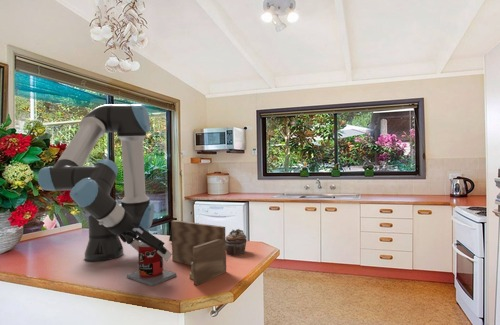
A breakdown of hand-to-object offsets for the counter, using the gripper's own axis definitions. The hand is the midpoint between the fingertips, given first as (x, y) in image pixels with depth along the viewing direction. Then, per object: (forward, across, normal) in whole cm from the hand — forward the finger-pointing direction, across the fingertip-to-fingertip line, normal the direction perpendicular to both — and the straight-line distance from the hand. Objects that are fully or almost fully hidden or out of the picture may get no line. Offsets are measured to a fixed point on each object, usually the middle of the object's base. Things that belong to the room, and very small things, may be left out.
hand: (156, 254), depth 109 cm
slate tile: (+3, 0, -7) cm, 8 cm away
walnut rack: (+10, +6, 0) cm, 12 cm away
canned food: (+3, 0, -6) cm, 7 cm away
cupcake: (+30, +7, +20) cm, 37 cm away
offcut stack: (+11, +14, +1) cm, 18 cm away
